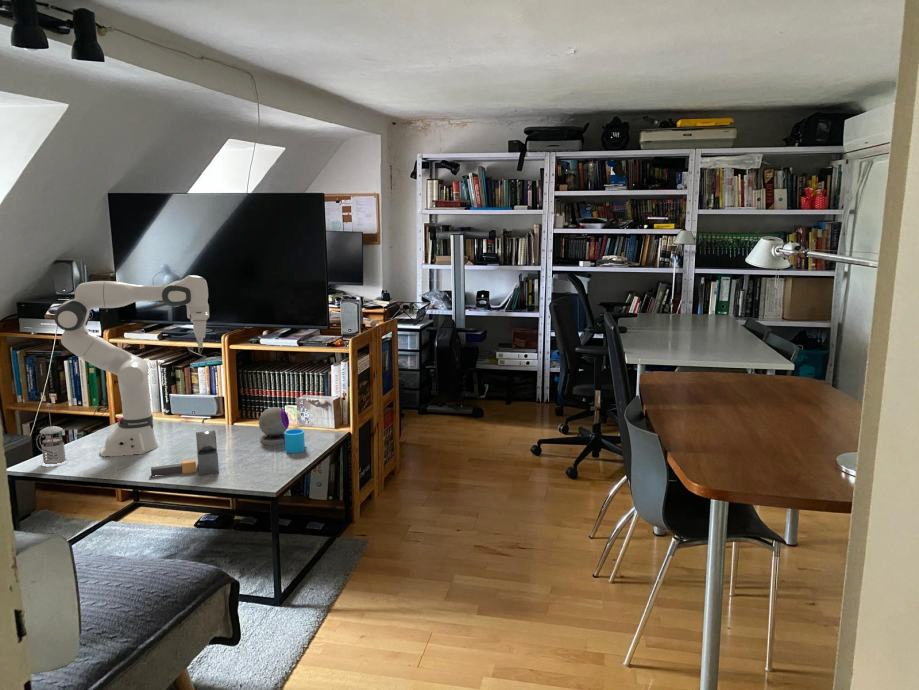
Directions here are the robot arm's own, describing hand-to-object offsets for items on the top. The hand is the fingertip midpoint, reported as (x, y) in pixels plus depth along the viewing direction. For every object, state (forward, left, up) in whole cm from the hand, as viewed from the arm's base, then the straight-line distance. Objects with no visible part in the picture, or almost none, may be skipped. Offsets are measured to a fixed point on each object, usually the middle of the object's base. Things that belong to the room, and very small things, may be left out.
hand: (199, 345), depth 295 cm
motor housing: (-1, -33, -44) cm, 55 cm away
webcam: (+28, -7, -44) cm, 53 cm away
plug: (-14, -33, -44) cm, 57 cm away
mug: (+35, -23, -44) cm, 61 cm away
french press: (-59, -1, -44) cm, 73 cm away
